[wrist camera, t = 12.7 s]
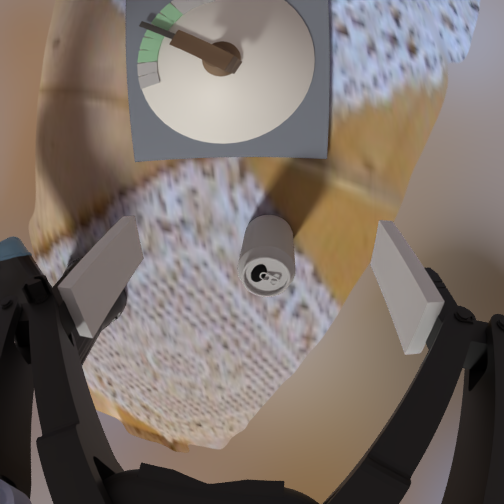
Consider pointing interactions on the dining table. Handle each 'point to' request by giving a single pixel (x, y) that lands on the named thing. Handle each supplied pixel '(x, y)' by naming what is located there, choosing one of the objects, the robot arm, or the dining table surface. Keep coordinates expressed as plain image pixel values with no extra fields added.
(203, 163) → the dining table surface
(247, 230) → the can
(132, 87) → the dial board
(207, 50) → the dial pointer knob
